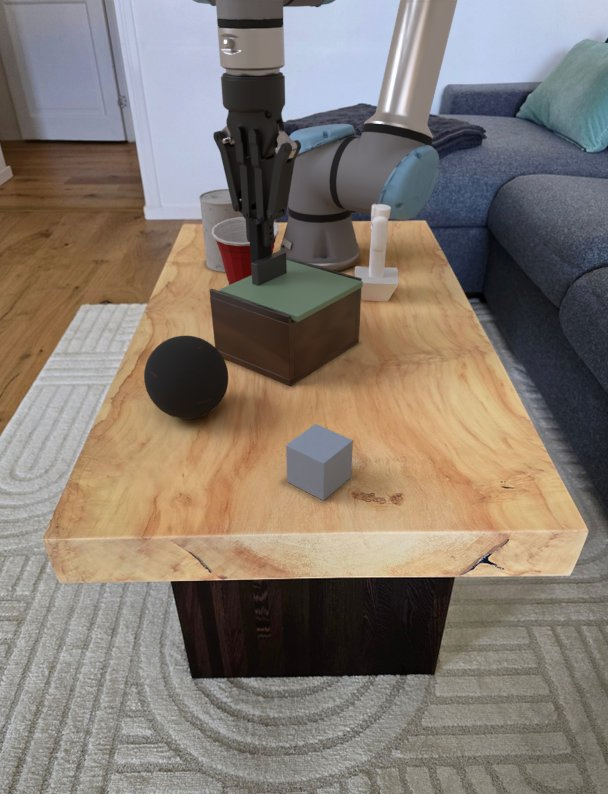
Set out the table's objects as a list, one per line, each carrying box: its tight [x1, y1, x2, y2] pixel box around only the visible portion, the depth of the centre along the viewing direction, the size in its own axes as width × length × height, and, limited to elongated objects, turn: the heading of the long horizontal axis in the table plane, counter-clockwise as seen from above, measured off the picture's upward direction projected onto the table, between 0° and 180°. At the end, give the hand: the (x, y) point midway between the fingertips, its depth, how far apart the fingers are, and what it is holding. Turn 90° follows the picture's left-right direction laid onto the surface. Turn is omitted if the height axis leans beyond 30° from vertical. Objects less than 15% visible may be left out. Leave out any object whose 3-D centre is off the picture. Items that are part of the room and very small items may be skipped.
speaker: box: [143, 335, 229, 420], centre depth 77 cm, size 10×10×10 cm
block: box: [285, 423, 354, 501], centre depth 67 cm, size 5×5×5 cm
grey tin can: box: [199, 188, 243, 273], centre depth 117 cm, size 10×10×12 cm
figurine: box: [354, 204, 400, 302], centre depth 104 cm, size 7×9×15 cm
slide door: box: [218, 250, 363, 322], centre depth 86 cm, size 14×14×4 cm
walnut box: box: [209, 257, 362, 387], centre depth 90 cm, size 16×14×10 cm
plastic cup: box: [212, 217, 280, 285], centre depth 104 cm, size 11×11×12 cm
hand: (261, 266), depth 88 cm, fingers closed
